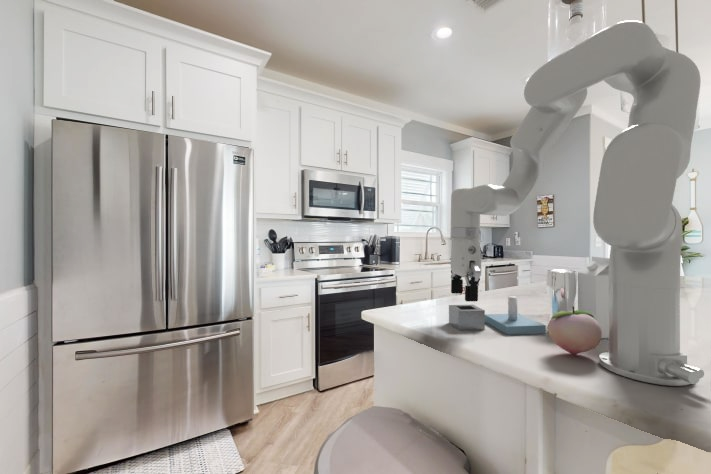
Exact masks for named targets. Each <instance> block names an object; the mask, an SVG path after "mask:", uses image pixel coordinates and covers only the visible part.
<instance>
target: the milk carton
mask: <svg viewBox="0 0 711 474" xmlns="http://www.w3.org/2000/svg"><path fill="white" fill-rule="evenodd" d="M609 258H610V257H602V256H601V257H599V256H591V261H589V262H588V263H587V264H586V265H584V266H583V267H582V268H581V269H580V270H578V272H577V284H578V292H577V310H582V311H586V312H589V313H591V314H592V315H593V316H594V317H592V318H594V319H595V320H596V321H597V322H598V323H599V325H600V327H601V330H602V336H601V339H609ZM589 316H590V315H589Z"/></svg>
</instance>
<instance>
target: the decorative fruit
mask: <svg viewBox="0 0 711 474" xmlns="http://www.w3.org/2000/svg"><path fill="white" fill-rule="evenodd" d="M572 309H573V311H572V312H568V311H559V312H557V313H555V314H554V315H553V316H552V318H551V320H550V321H549V320H548V323H547V332H548V334H549V336H550V338H551V339H552V341H553V342H554V343H555V344H556V346H558V347H559V348H561V349H562V350H563V351H565V352H568V354H571V355H574V356H577V355H578V354H581V353H584V352H585V353H587V352H588V351H591V350H594V349H595V348H596V347H597V346H598V345H599V344H600V343H601V340H602V338H601V336H602V330H601V327H600V325H599V323H598V322H597V321H596V320H595V319H594V318H592V317H594V316H593V315H592V314H591V313H589V312H586V311H582V310H578V309H576V310H575V309H574V306H572ZM589 315H590V316H589Z"/></svg>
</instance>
